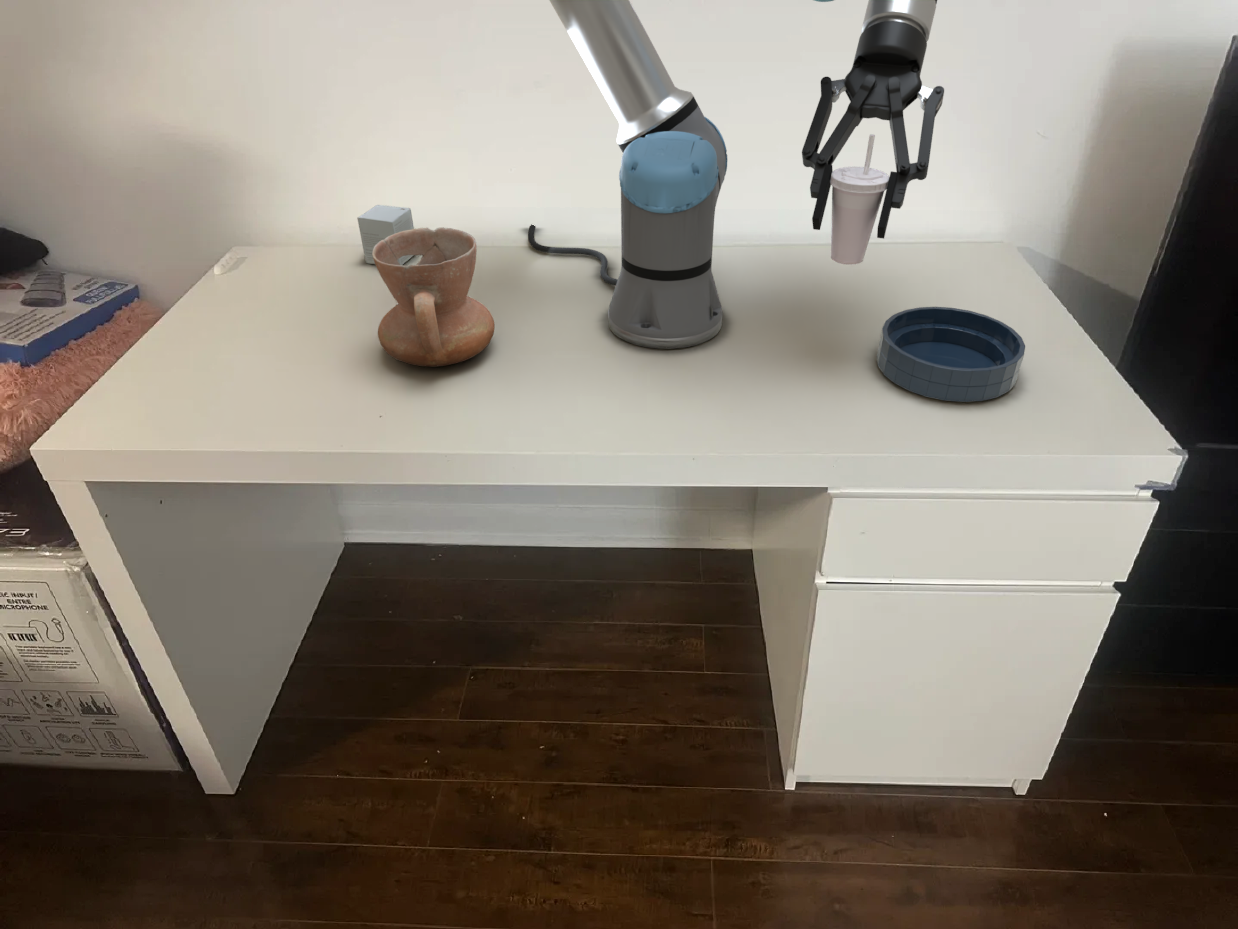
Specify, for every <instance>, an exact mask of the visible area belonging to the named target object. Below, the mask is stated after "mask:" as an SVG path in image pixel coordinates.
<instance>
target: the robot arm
mask: <svg viewBox="0 0 1238 929" xmlns="http://www.w3.org/2000/svg"><path fill="white" fill-rule="evenodd" d="M813 1H814V2H819V3H829V2H834V1H835V0H813ZM631 2H632V1H631V0H549V3H551V6H552V7H553V10H554V11H555V13H556V15H557V16H558V18H559V20H560V22H561V23H562V25H563V27H564V29H565V31H566V32H567V34H568V36H569V38H570V39H571V41H572V43H573V44H574V46H575V49H576V50H577V52H578V54H579V55H580V57H581V58H582V61H583V62H584V64H585V66H586V68H587V69H588V72H589V73H590V74H591V76H592V78H593V80H594V81H595V83H596V85H597V88H599V91H600V92H601V94H602V96H603V97H604V100H605V101H606V103H607V104H608V106H609V108H610V110H611V112H612V113H613V115H614V117H615V118H616V120H617V122H618V131H617V136H616V140H615V142H616V144H617V146H618V147H619V149H620V150H621V152H622V155H621V163H620V168H619V174H618V180H619V187H620V233H621V235H620V236H621V237H620V238H621V240H620V241H621V242H620V243H621V244H620V246H621V268H620V272H619V274H618V277H617V278H615V277H611V276H610V275H608V266H609V261H608V258H607V257H606V255H605V254H604V253H602V252H600V251H598V250H595V249H591V248H585V247H565V246H563V247H562V246H561V247H559V246H547V245H542V244H539V243H538V242H537V241H536V238H535V232H536V228H537V226H536V225H535V224H534V225H535V226H534V225H532V224H530V225H531V226H530V225H529V228H528V233H527V239H528V240H527V241H528V243H529V245H530V247H532V249H534V250H536V251H538V252H542V253H546V254H554V255H555V254H556V255H557V254H558V255H583V256H590V257H594V258H596V259H598V260H599V261H600V263H601V265H600V270H599V276H600V277H601V279H602V282H605V284H609V285H611V286H614V290H613V294H612V296H611V299H610V302H609V305H608V312H607V313H608V315H607V316H608V328H609V329H610V331H611V332H612V333H613V334H614V335H615V336H616V337H618V338H619V339H621V340H623V341H624V342H626V343H630V344H632V345H635V346H639V347H644V348H650V349H657V350H658V349H659V350H664V349H665V350H674V349H683V348H684V349H685V348H689V347H693V346H697V345H700V344H703V343H705V342H707V341H709V340H711V339H713V338H714V337H715V336H716V335H718V333H719V332H720V331H721V329H722V325H723V307H722V302H721V298H720V295H719V293H718V292H719V291H718V289H717V285H716V281H715V278H714V274H713V271H712V263H713V262H712V261H713V246H714V244H713V243H714V229H715V214H716V207H717V202H718V198H719V195H720V192H721V189H722V185H723V183H724V181H725V177H726V174H727V169H728V153H727V151H728V150H727V146H726V143H725V139H724V137H723V135H722V133H721V132H720V130H719V128H718V127H717V125H715V124H714V123H713V121H712V120H710V119H709V118H707V117H706V116H705V115H704V114H703V111H702V109H701V108H700V106H699V104H698V102H697V100H696V98H695V95H694V94H693V93H692V92H691V91H687V90H684V89H680V88H678V87H677V86H675V84H674V82H673V80H672V78H671V76H670V75H669V72H668V70H667V68H666V67H665V65H664V63H663V61H662V59H661V57H660V56H659V54H658V51H657V50H656V48H655V46H654V44H653V42H652V40H651V38H650V37H649V35H648V32H647V30H646V29H645V27H644V25H643V23H642V21H641V19H640V18H639V16H638V13H637V12H636V10H635V7H634V6H633V3H631ZM937 4H938V0H868V1H867V5H866V10H865V13H864V18H863V22H862V25H861V34H860V36H859V38H858V43H857V47H856V51H855V55H854V59H853V62H852V67H851V69H850V71H849V72H848V73H847V74H846V76H845V78H842V79H834V80H832V78H831V77H830V76H823V77H822V78H821V80H820V98H819V101H818V103H817V106H816V109H815V112H814V115H813V118H812V121H811V123H810V126H809V130H808V132H807V135H806V138H805V141H804V144H803V147H802V150H801V157H802V158H801V159H802V164H803V166H804V167H806V168H811V169H813V174H812V178H811V182H810V185H809V192H810V193H809V194H810V198H811V199H816V201H815V205H814V210H813V213H812V218H811V221H812V229H813V230H816V231H820V230H821V226H822V222H823V219H824V215H825V210H826V206H827V203H828V198H829V194H830V191H831V187H832V185H831V184H830V179H831V174H832V172H833V171H834V170H833V163H834V162H835V161H836V159H837V157H838V156H839V155H840V153H841V151H842V150H843V148H844V146H845V145H846V143H847V142H848V140H849V139H850V137H851V136H852V134H853V132H854V130H855V129H856V128H857V127H858V126H859V125H860V123H861V122H862V121H863V119H875V118H876V119H879V120H882V121H888V122H889V128H890V133H891V141H892V148H893V156H894V161H895V162H894V163H895V170H896V171H890V173H889V181H888V186H887V189H886V190H885V193H884V194H885V195H884V199H883V203H882V207H881V211H880V216H879V220H878V223H877V233H876V234H877V235H876V238H877V239H883V240H884V239H885V236H886V232H887V227H888V223H889V219H890V215H891V210H892V209H899V210H900V209H901V208H902V206H903V205H904V201H905V196H906V192H907V187H908V184H909V183H911V181H914V180H918V181H923V180H925V179H926V178H927V175H928V171H929V165H930V157H931V150H932V142H933V136H934V135H933V134H934V128H935V120H936V119H935V118H936V116H937V114H938V113H939V110H940V109H941V107H942V105H943V100H944V96H945V88H944V87H943V86H942V85H936V86H935V87H933V88H932V87H928V86H925V85H923V81H922V79H921V73H922V68H923V64H924V60H925V56H926V52H927V47H928V41H929V39H930V34H931V30H932V26H933V23H934V18H935V14H936V9H937ZM844 92H845V94H846V96H847V98H848V100H849V104H848V106H847V108H846V111H845V113H844V114H843V116H842V117H841V119H840V120H839V122H838V123H837V125H836V126H835V128H834V130H833V131H832V133H831V135H829V137H828V139H827V141H826V142H825V143H824V145H823V147H822V148H821V150H820V151H819V148H820V146H821V143H822V140H823V137H824V134H825V131H826V128H827V125H828V122H829V119H830V117H831V114H832V110H833V103H836V102H837V101H838V100H839V99H840V95H841V94H842V93H844ZM917 99H919V100H920V103H919V104H920V105H919V107H920V109H922V111H923V115H922V116H923V117H922V124H921V132H920V139H919V147H918V153H917V161H916V162H910V155H909V148H908V141H907V140H908V139H907V133H906V127H905V126H906V125H905V119H904V110H906V109H907V108H908V107H909V106H910V105H911V104H912V103H914V102H915V101H916V100H917ZM818 151H819V152H818Z"/></svg>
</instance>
